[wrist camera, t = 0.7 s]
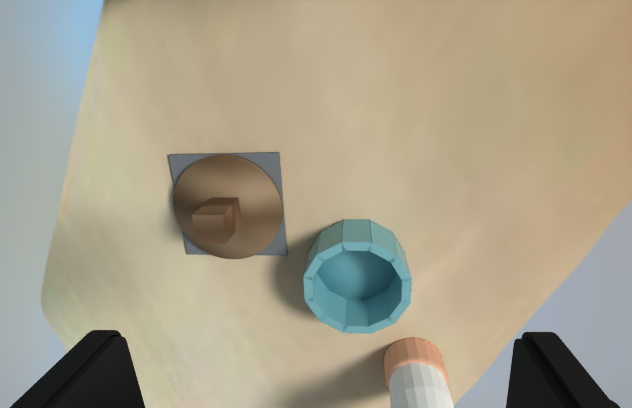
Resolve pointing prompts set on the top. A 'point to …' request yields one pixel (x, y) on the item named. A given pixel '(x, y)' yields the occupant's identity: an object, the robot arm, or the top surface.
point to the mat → (263, 160)
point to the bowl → (357, 277)
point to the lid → (228, 206)
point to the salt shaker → (416, 375)
